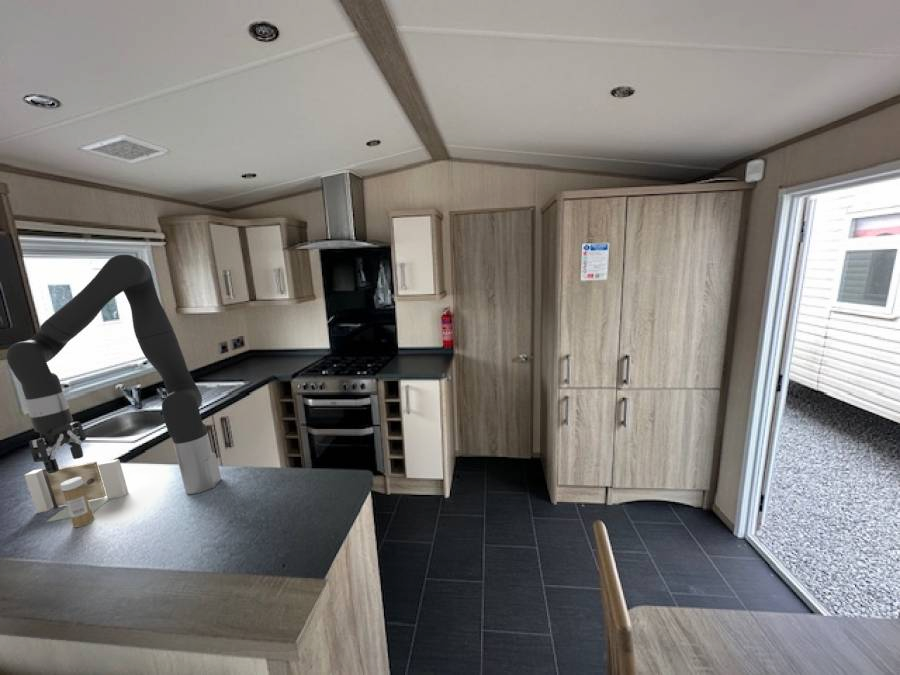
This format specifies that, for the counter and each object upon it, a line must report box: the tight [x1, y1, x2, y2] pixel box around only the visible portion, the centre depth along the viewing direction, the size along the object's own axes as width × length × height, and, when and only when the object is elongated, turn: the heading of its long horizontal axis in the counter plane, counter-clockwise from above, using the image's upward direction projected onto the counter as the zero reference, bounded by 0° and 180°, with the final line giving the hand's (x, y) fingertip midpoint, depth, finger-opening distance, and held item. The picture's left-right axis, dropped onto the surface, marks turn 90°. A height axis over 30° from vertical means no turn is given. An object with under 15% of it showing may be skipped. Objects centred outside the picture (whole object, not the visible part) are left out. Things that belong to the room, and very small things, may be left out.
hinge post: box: [24, 468, 54, 514], centre depth 117 cm, size 3×3×13 cm
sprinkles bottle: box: [60, 477, 95, 528], centre depth 107 cm, size 5×5×13 cm
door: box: [42, 461, 107, 509], centre depth 118 cm, size 14×2×13 cm, turn 101°
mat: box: [46, 497, 112, 523], centre depth 116 cm, size 12×8×1 cm, turn 101°
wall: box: [97, 458, 129, 499], centre depth 121 cm, size 5×2×12 cm, turn 101°
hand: (66, 464), depth 106 cm, fingers open, 8 cm apart
